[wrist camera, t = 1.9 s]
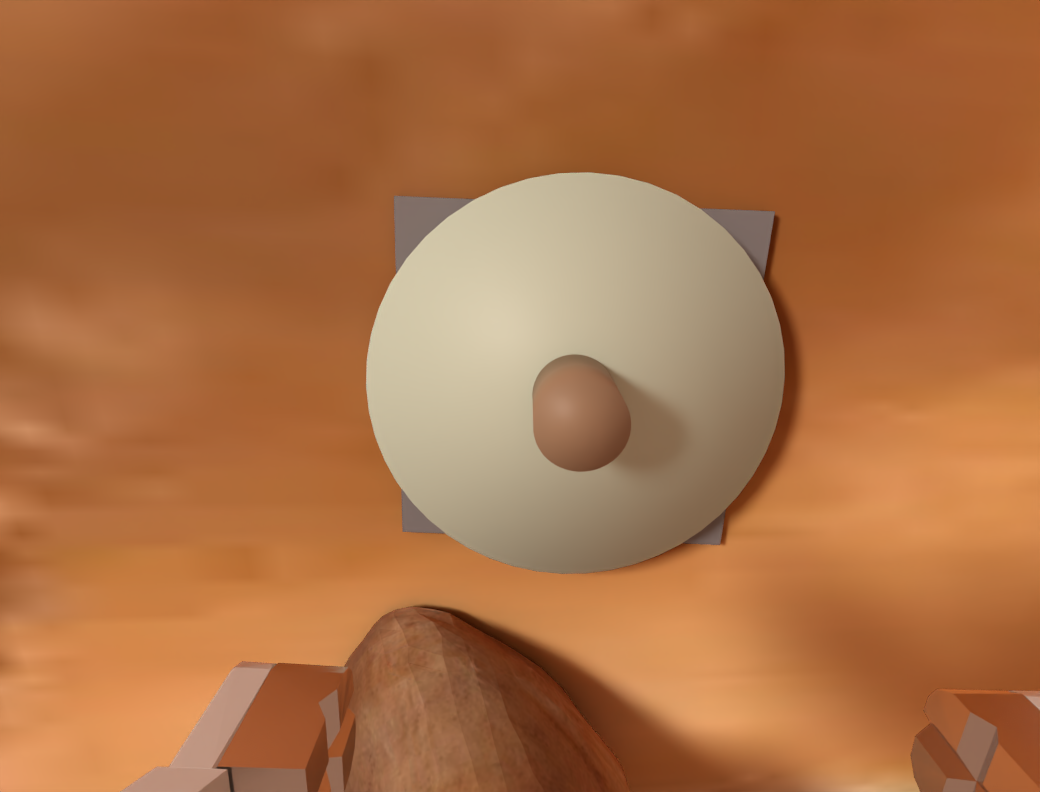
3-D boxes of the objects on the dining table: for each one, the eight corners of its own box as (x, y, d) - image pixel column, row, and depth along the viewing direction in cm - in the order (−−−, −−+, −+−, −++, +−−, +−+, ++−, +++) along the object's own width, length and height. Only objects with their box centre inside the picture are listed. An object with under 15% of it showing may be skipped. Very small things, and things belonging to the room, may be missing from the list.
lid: (806, 183, 21) (882, 175, 16) (739, 564, 26) (783, 639, 21) (365, 165, 21) (321, 152, 16) (380, 550, 26) (349, 621, 21)
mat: (770, 211, 22) (774, 211, 21) (717, 540, 26) (719, 544, 25) (396, 196, 22) (394, 196, 21) (404, 526, 26) (402, 531, 25)
